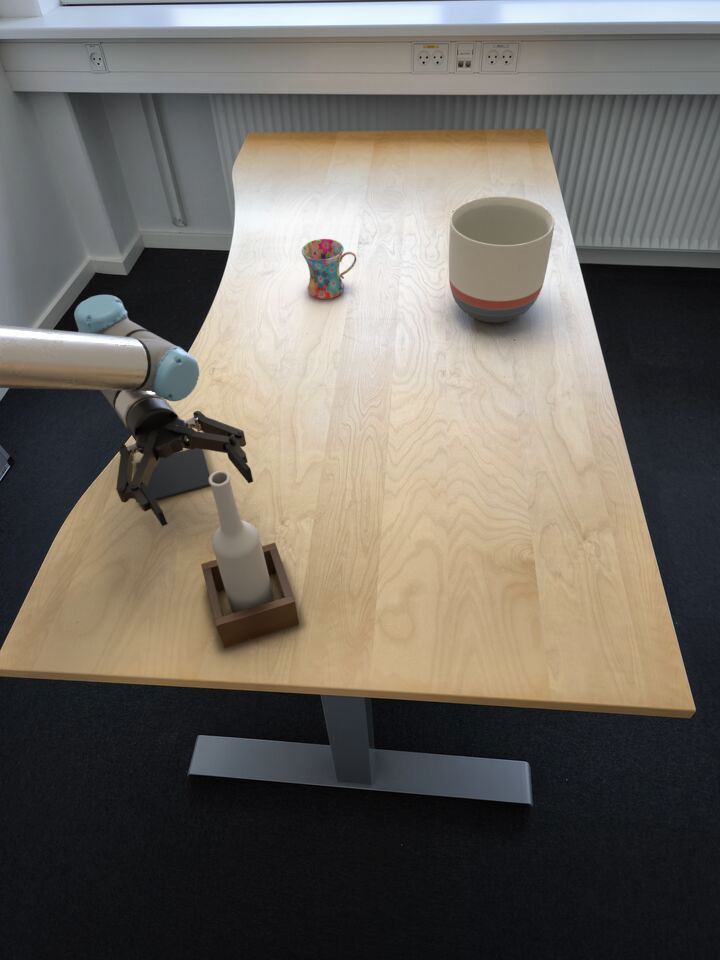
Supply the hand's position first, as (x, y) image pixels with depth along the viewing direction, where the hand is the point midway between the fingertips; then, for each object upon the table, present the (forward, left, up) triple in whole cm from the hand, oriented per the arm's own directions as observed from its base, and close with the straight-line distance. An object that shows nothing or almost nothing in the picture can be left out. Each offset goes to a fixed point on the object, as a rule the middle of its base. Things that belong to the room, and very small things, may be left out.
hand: (207, 497), depth 103 cm
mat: (-5, +24, -17) cm, 30 cm away
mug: (+39, +70, -17) cm, 82 cm away
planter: (+69, +48, -17) cm, 86 cm away
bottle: (+2, -8, -17) cm, 19 cm away
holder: (+2, -8, -17) cm, 19 cm away
